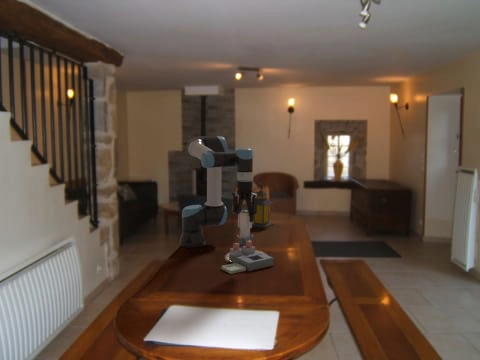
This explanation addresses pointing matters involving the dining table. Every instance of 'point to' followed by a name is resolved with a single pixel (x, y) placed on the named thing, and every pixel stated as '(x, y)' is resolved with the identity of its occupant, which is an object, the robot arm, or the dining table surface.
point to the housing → (250, 258)
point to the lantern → (262, 210)
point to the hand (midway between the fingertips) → (244, 227)
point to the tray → (233, 268)
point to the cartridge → (244, 224)
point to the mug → (243, 240)
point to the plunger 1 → (235, 246)
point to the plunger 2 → (248, 244)
